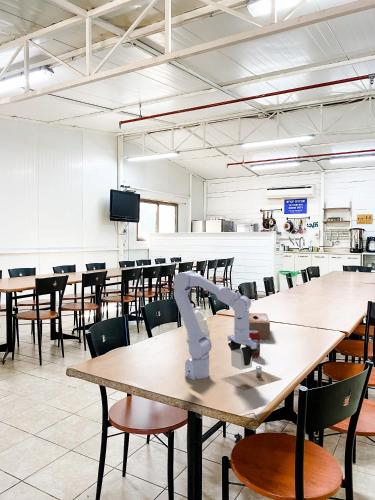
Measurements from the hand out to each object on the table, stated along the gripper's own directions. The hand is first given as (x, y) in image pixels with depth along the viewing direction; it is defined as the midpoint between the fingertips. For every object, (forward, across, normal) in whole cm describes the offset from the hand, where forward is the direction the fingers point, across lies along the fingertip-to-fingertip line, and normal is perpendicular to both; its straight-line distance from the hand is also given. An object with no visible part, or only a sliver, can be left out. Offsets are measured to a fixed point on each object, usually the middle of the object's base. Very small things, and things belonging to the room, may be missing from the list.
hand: (241, 362), depth 150 cm
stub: (+8, 0, -9) cm, 12 cm away
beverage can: (+9, +25, -29) cm, 39 cm away
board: (+9, 0, -5) cm, 10 cm away
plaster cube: (+1, 0, 0) cm, 1 cm away
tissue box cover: (+9, +55, -59) cm, 81 cm away
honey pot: (+9, +64, -24) cm, 69 cm away
